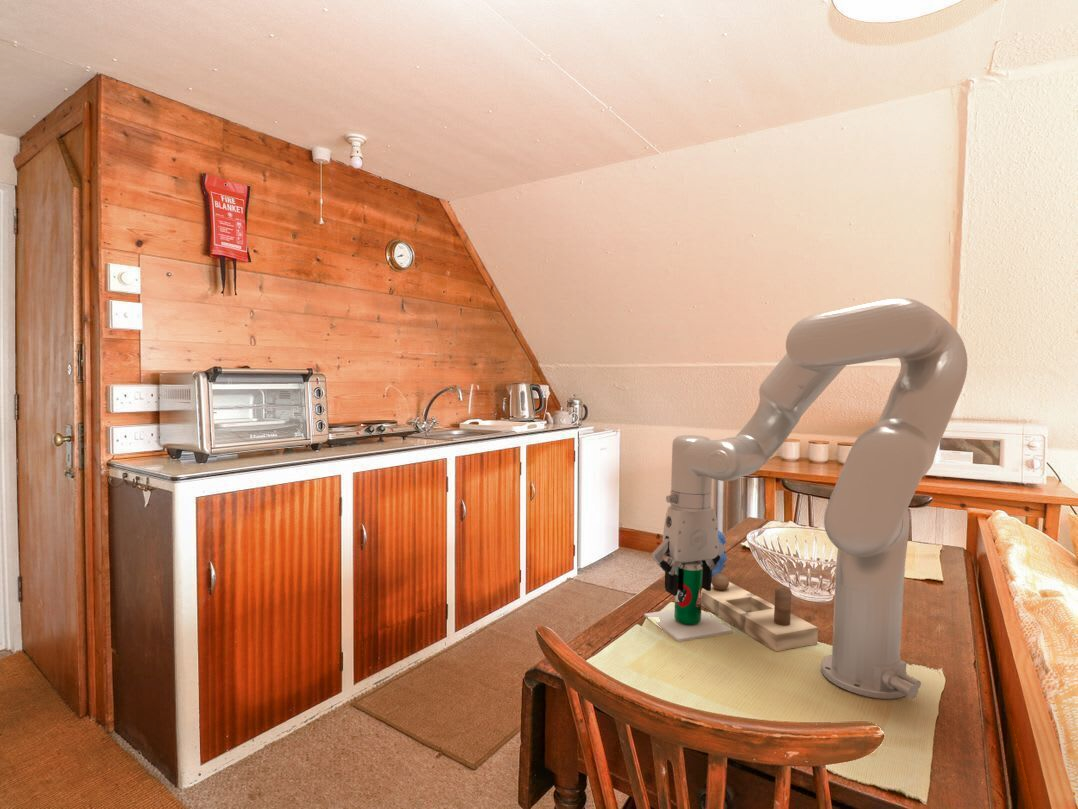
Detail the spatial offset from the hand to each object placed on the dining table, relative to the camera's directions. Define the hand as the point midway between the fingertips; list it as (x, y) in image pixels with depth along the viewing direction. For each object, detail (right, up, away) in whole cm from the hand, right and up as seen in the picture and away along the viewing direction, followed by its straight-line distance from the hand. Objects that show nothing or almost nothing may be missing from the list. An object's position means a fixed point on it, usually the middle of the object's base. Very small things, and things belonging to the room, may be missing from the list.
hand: (688, 590), depth 116 cm
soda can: (0, -6, +1) cm, 6 cm away
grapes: (+11, -6, +24) cm, 27 cm away
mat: (0, -7, 0) cm, 7 cm away
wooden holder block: (+13, -7, +3) cm, 15 cm away
